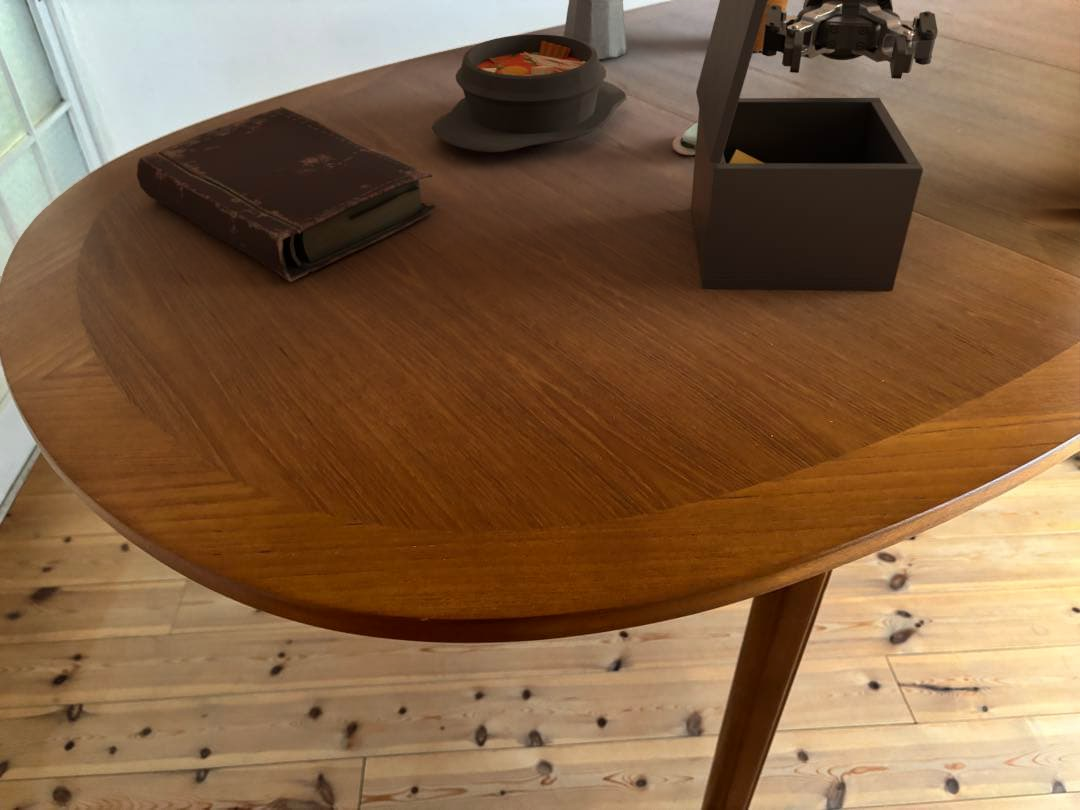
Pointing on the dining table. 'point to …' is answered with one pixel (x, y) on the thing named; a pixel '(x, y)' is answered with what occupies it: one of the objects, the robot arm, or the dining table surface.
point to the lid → (727, 68)
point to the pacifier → (688, 137)
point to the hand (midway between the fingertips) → (847, 63)
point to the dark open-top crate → (805, 197)
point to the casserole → (528, 94)
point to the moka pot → (597, 25)
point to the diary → (285, 190)
